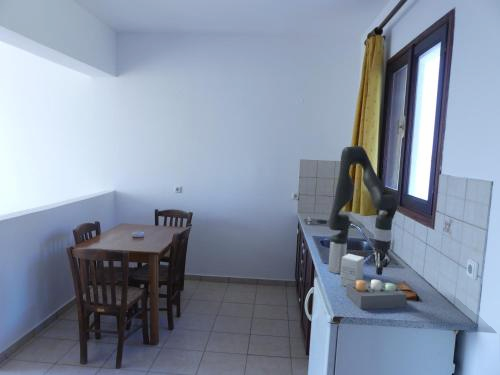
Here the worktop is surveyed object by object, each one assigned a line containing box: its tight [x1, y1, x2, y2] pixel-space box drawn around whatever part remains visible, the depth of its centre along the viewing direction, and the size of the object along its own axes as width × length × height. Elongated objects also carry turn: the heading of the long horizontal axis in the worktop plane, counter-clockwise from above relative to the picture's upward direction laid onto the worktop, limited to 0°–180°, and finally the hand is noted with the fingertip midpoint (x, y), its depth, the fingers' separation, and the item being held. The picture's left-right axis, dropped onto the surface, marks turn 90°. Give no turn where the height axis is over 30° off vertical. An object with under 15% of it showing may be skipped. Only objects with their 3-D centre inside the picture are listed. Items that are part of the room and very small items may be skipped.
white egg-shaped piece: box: [370, 279, 383, 291], centre depth 162 cm, size 5×5×6 cm
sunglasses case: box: [394, 280, 420, 302], centre depth 173 cm, size 18×7×7 cm
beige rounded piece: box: [356, 279, 368, 292], centre depth 160 cm, size 5×5×6 cm
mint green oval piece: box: [385, 282, 396, 291], centre depth 163 cm, size 5×5×6 cm
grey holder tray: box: [345, 282, 407, 310], centre depth 162 cm, size 14×22×6 cm, turn 100°
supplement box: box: [339, 253, 365, 288], centre depth 181 cm, size 9×9×15 cm
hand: (379, 274), depth 161 cm, fingers closed
